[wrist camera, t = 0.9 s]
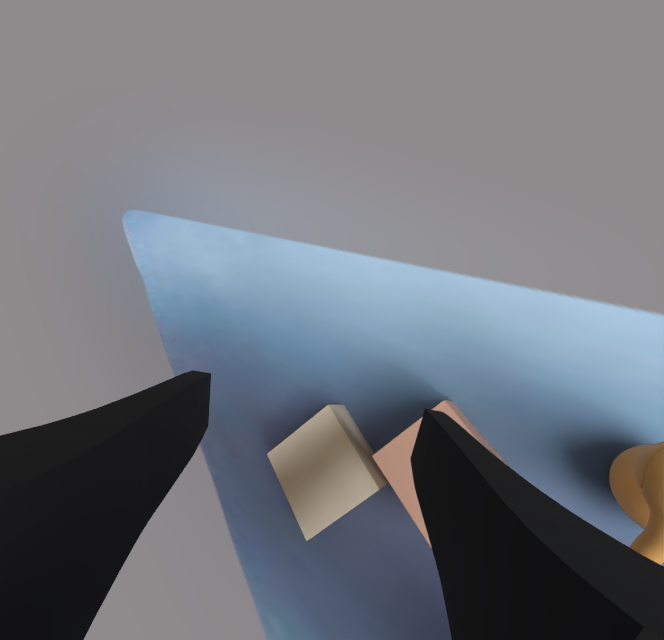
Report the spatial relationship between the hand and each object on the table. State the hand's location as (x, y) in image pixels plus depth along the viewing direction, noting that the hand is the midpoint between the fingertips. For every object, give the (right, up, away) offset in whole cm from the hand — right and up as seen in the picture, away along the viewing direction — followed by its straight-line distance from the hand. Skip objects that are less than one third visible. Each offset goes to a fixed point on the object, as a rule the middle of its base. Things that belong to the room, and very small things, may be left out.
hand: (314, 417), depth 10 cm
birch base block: (+1, -7, +13) cm, 15 cm away
